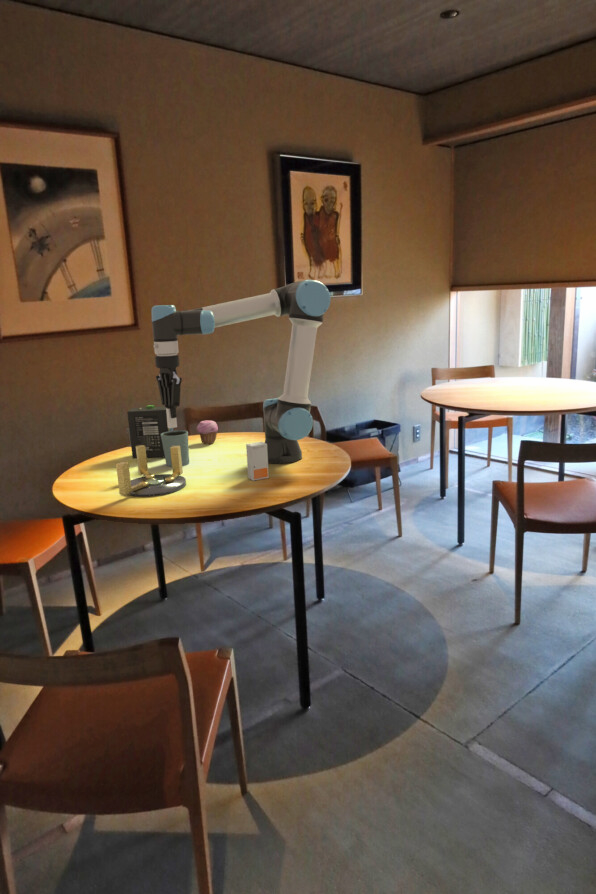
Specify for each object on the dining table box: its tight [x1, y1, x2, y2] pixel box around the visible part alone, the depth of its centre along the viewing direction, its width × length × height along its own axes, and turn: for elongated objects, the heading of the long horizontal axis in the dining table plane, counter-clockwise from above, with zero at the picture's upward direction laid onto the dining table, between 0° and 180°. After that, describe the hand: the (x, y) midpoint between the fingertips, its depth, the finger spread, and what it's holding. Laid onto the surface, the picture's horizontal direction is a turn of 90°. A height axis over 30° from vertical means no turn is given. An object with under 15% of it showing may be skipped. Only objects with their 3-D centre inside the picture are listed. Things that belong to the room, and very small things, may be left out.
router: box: [126, 404, 174, 460], centre depth 241 cm, size 8×18×20 cm, turn 89°
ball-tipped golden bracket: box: [115, 461, 148, 496], centre depth 192 cm, size 11×3×10 cm, turn 150°
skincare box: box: [245, 441, 270, 481], centre depth 204 cm, size 6×4×12 cm
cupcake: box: [196, 419, 219, 445], centre depth 260 cm, size 9×9×10 cm
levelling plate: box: [127, 473, 187, 498], centre depth 200 cm, size 20×20×2 cm
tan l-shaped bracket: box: [165, 446, 183, 482], centre depth 203 cm, size 11×3×10 cm, turn 172°
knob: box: [136, 445, 155, 480], centre depth 207 cm, size 11×3×10 cm, turn 30°
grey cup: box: [161, 429, 190, 468], centre depth 228 cm, size 10×10×12 cm
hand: (172, 427), depth 199 cm, fingers closed
